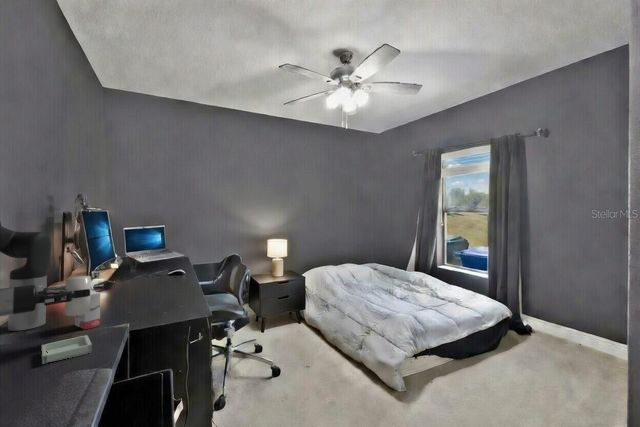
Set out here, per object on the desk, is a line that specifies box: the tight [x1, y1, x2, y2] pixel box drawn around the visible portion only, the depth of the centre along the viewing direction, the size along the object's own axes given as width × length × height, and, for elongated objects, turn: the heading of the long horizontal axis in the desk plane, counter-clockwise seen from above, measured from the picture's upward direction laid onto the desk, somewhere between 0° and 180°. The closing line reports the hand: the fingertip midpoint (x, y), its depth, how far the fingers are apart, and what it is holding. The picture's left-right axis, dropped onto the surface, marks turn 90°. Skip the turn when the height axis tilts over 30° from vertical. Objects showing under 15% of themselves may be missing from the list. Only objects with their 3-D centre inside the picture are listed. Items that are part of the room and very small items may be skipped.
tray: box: [41, 334, 93, 365], centre depth 80 cm, size 10×10×2 cm
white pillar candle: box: [64, 275, 92, 317], centre depth 90 cm, size 6×6×11 cm
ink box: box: [74, 289, 101, 330], centre depth 101 cm, size 9×5×12 cm, turn 58°
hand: (88, 290), depth 92 cm, fingers closed on white pillar candle, 6 cm apart
